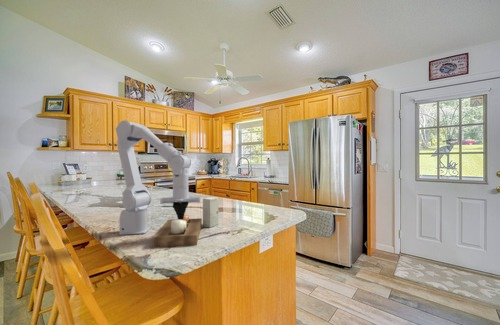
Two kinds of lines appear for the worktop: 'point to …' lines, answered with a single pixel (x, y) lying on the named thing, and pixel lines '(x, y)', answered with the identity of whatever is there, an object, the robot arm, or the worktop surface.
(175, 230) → the white rounded cylinder
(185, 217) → the rust plug
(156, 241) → the board
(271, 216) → the worktop surface
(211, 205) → the skincare box
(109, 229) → the worktop surface
